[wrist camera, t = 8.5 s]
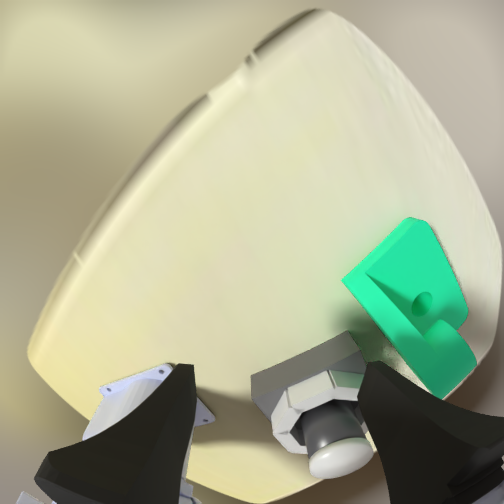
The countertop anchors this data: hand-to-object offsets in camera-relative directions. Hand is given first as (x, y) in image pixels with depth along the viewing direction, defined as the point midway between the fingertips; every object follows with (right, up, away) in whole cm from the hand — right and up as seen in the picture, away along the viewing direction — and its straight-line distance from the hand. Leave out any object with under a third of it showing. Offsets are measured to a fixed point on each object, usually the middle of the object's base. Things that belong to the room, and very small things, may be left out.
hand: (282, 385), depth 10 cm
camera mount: (+12, +2, +11) cm, 16 cm away
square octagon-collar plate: (+5, -7, +13) cm, 15 cm away
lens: (+5, -8, +10) cm, 13 cm away
